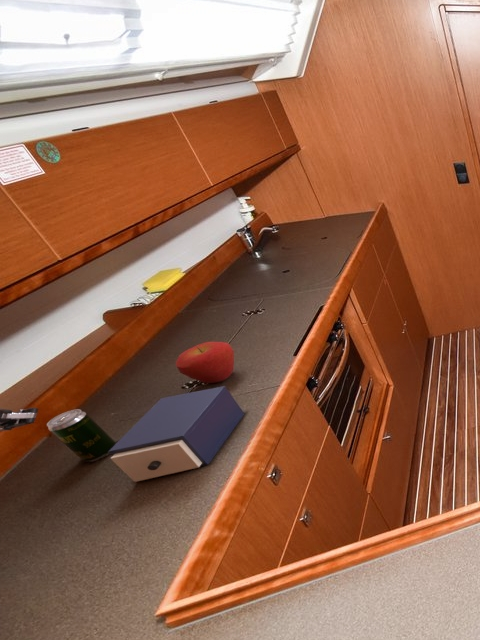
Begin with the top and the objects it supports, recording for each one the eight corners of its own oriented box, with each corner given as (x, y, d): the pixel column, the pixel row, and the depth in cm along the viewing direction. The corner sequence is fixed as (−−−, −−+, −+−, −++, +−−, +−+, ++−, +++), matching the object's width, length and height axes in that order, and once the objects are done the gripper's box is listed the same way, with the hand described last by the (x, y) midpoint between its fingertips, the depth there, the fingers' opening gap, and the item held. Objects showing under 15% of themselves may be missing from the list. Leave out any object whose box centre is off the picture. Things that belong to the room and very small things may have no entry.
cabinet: (208, 464, 92) (182, 435, 87) (138, 480, 89) (107, 451, 84) (244, 413, 105) (224, 385, 101) (185, 425, 102) (161, 397, 98)
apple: (188, 398, 111) (161, 364, 105) (202, 375, 119) (178, 342, 113) (240, 383, 115) (217, 350, 109) (250, 362, 124) (229, 330, 118)
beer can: (102, 444, 98) (66, 409, 92) (125, 442, 98) (90, 407, 92) (76, 463, 93) (36, 428, 87) (100, 462, 94) (62, 426, 88)
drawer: (195, 472, 90) (174, 448, 86) (130, 486, 87) (105, 463, 83) (235, 418, 103) (218, 396, 99) (179, 430, 100) (159, 407, 96)
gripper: (19, 385, 67) (71, 400, 80) (-134, 392, 59) (-49, 407, 72) (2, 433, 64) (59, 440, 77) (-160, 447, 57) (-67, 452, 70)
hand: (7, 424), depth 75 cm, fingers closed
